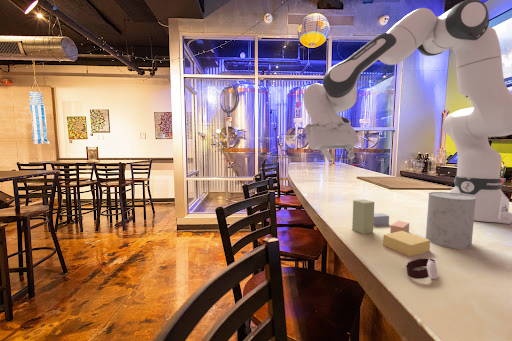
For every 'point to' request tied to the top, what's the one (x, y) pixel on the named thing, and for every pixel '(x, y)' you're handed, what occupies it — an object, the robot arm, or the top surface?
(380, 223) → the slate brick
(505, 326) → the top surface
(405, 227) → the terracotta brick
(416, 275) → the watch
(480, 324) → the top surface
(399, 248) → the ochre slab
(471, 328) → the top surface
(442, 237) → the speckled grey cylinder
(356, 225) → the olive brick
